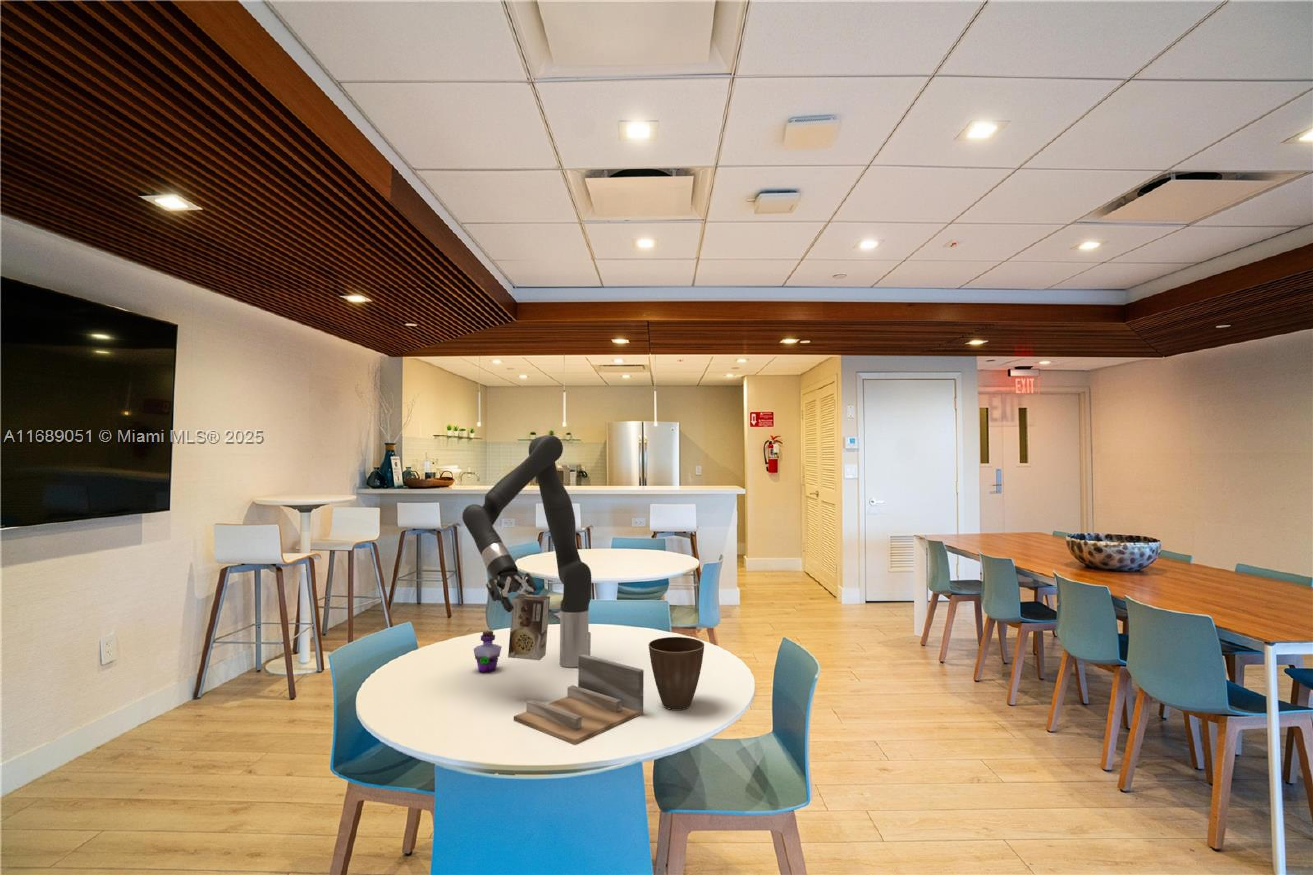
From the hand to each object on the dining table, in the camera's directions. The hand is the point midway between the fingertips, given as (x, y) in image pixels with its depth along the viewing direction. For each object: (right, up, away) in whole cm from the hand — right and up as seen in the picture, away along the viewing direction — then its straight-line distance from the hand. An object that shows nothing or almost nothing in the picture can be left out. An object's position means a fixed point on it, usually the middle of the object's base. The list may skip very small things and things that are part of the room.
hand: (523, 608), depth 170 cm
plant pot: (+42, -24, -6) cm, 49 cm away
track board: (+17, -23, -15) cm, 33 cm away
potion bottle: (-16, -26, +23) cm, 39 cm away
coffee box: (+1, -13, -1) cm, 13 cm away
